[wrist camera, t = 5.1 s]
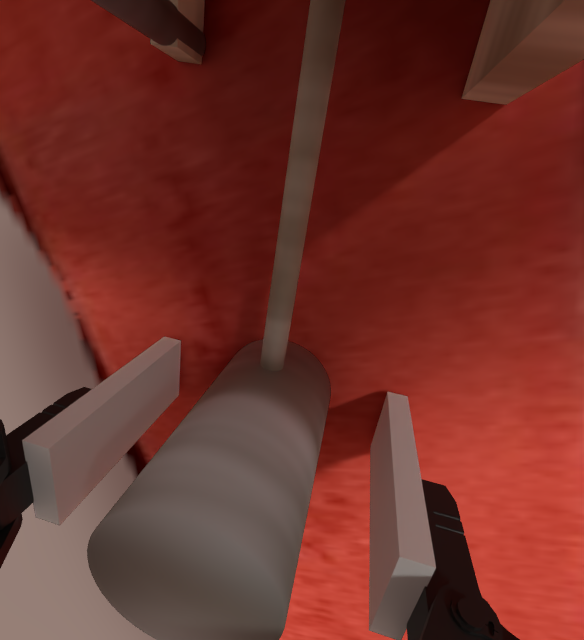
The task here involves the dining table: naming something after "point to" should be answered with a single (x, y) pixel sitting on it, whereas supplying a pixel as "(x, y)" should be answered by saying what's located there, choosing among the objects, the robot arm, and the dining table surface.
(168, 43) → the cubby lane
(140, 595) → the tethered cylinder
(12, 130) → the dining table surface
